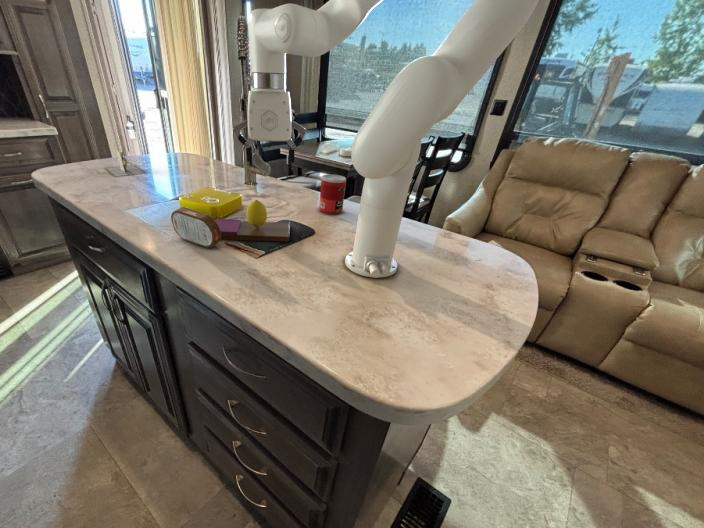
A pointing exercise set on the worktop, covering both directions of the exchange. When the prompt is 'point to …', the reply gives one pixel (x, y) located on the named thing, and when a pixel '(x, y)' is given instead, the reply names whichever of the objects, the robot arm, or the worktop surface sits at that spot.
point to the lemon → (256, 213)
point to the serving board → (260, 232)
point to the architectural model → (124, 167)
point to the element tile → (212, 202)
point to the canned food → (332, 194)
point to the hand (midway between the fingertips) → (271, 165)
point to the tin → (196, 227)
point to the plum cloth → (228, 225)
